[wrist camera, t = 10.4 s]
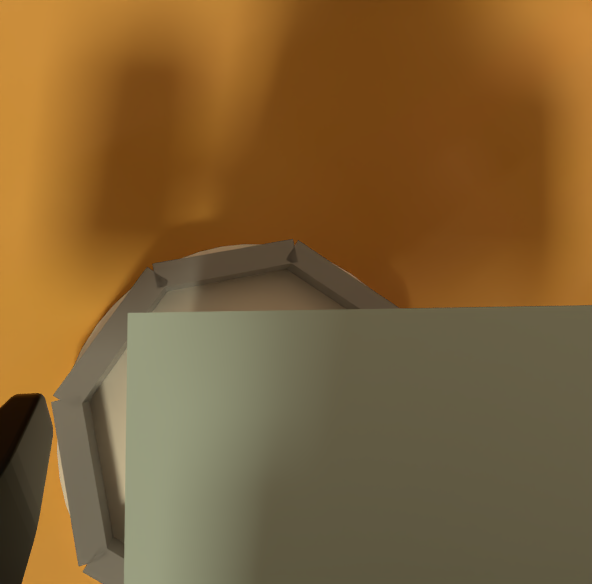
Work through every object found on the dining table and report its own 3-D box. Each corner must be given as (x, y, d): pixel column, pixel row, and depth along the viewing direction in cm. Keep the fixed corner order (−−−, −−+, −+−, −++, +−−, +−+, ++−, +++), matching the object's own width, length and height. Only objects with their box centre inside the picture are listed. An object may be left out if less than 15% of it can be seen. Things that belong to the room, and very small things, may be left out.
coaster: (463, 553, 17) (488, 570, 15) (99, 685, 14) (87, 721, 13) (379, 222, 18) (395, 209, 17) (32, 283, 15) (15, 274, 14)
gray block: (335, 498, 16) (709, 861, 4) (181, 513, 15) (116, 1043, 3) (328, 348, 17) (629, 305, 5) (181, 353, 16) (127, 312, 4)
